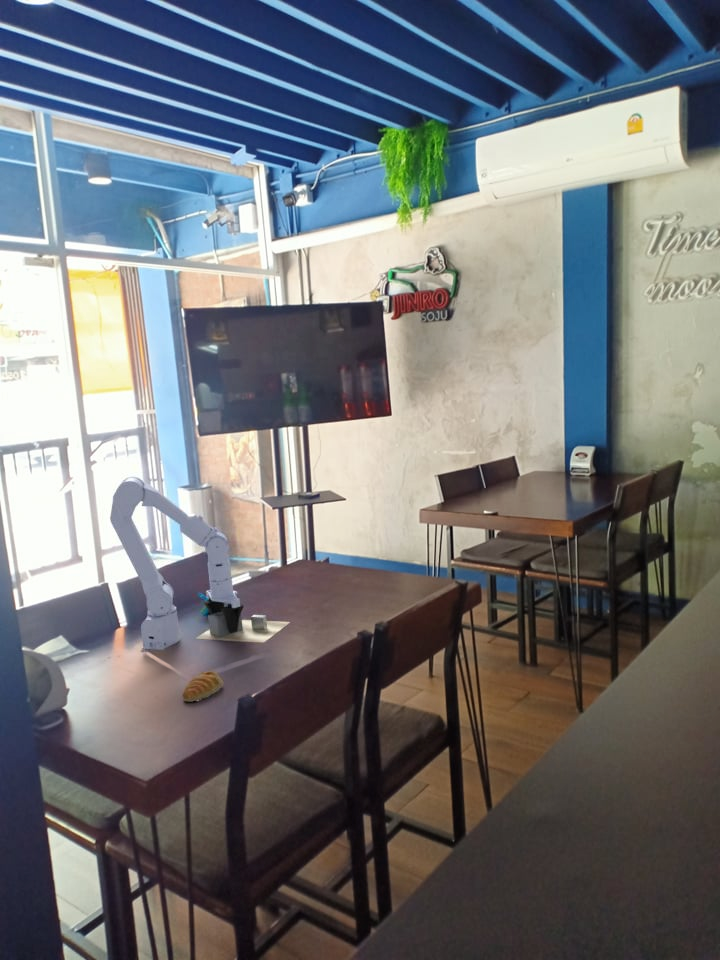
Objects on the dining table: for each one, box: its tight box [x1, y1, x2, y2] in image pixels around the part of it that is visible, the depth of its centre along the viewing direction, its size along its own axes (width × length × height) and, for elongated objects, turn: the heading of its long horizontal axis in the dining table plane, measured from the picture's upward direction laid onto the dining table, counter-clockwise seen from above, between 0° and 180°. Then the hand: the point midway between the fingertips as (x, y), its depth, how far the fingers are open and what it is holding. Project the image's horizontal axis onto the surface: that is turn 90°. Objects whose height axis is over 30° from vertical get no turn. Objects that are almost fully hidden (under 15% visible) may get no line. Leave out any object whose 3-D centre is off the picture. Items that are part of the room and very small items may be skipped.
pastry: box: [182, 670, 224, 703], centre depth 158 cm, size 9×7×4 cm
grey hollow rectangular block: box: [207, 611, 243, 638], centre depth 193 cm, size 5×7×5 cm
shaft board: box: [195, 619, 291, 644], centre depth 194 cm, size 15×20×1 cm
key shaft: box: [250, 614, 268, 630], centre depth 194 cm, size 2×4×4 cm, turn 69°
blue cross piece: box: [197, 592, 210, 617], centre depth 211 cm, size 11×6×10 cm
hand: (226, 628), depth 193 cm, fingers open, 7 cm apart
